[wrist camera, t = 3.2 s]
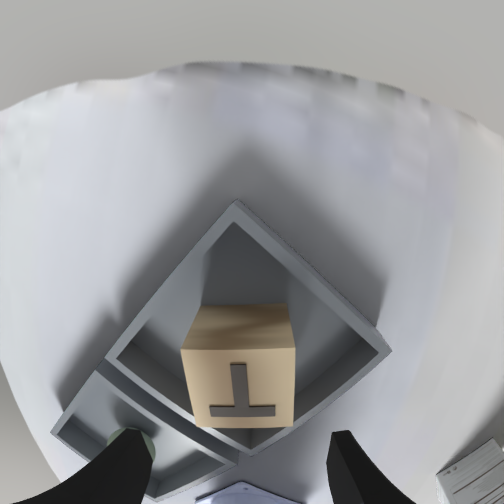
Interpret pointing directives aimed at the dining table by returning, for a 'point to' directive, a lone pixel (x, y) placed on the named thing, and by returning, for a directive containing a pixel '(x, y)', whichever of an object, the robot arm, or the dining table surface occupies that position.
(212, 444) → the tray far
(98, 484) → the robot arm
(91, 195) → the dining table surface
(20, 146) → the dining table surface
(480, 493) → the supplement box
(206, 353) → the letter cube
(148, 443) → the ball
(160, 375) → the tray near
